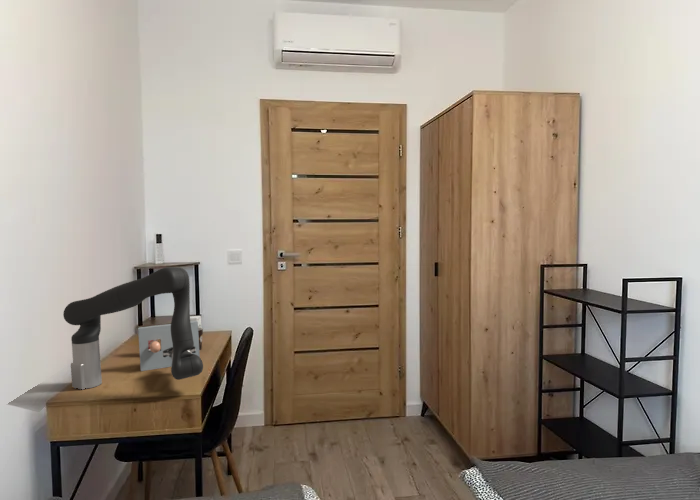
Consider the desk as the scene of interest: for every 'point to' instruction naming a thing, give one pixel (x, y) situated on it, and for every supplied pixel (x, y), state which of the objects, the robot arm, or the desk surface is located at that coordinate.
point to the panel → (164, 334)
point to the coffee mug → (200, 337)
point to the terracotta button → (155, 346)
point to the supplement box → (196, 318)
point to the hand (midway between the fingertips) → (177, 347)
